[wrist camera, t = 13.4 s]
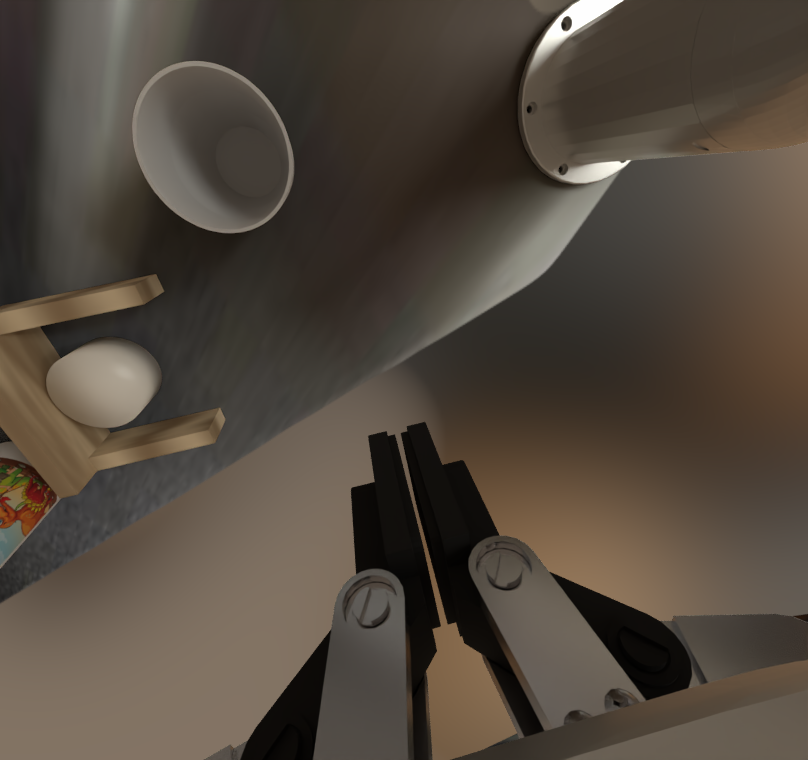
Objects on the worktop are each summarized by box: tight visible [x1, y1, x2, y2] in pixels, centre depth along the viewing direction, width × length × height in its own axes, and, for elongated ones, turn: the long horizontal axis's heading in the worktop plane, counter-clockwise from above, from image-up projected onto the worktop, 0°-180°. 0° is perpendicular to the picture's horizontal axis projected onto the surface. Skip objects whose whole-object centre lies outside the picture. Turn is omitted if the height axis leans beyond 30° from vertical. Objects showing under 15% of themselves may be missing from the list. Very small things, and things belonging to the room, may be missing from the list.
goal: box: [0, 274, 226, 498], centre depth 32 cm, size 12×15×7 cm
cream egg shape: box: [46, 337, 162, 428], centre depth 34 cm, size 7×7×4 cm
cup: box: [132, 61, 294, 233], centre depth 25 cm, size 8×8×10 cm
